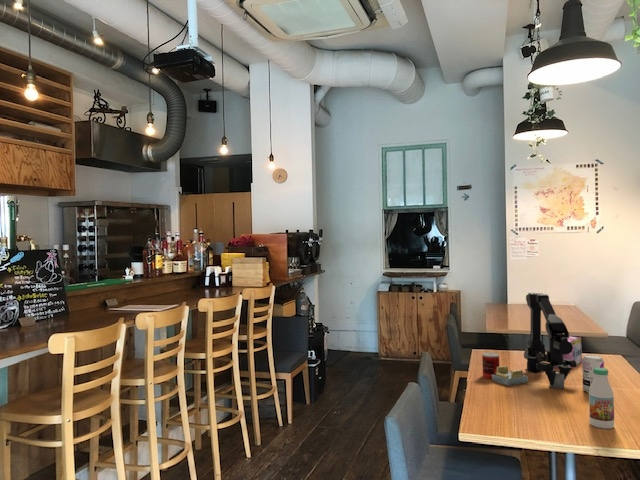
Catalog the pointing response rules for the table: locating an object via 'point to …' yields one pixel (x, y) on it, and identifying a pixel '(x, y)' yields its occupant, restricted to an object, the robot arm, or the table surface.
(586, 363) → the supplement can
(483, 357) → the canned food
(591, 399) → the milk bottle
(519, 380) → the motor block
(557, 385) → the grey rounded piece
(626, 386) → the table surface
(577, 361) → the pink drink carton pack
